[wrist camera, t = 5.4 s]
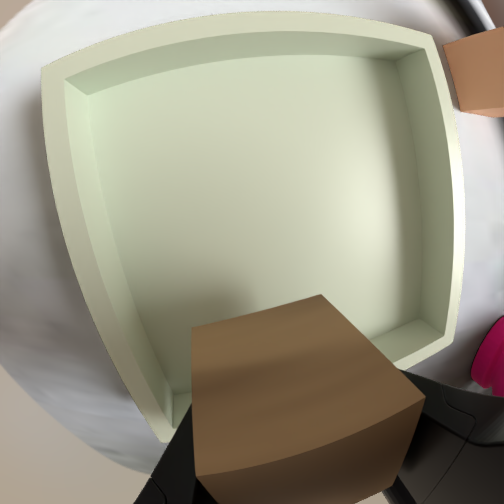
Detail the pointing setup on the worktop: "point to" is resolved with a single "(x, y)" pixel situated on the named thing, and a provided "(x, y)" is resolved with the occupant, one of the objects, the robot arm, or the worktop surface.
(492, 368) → the pepper mill
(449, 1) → the worktop surface
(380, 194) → the tray
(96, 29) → the worktop surface
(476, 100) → the peach block
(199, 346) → the walnut block
